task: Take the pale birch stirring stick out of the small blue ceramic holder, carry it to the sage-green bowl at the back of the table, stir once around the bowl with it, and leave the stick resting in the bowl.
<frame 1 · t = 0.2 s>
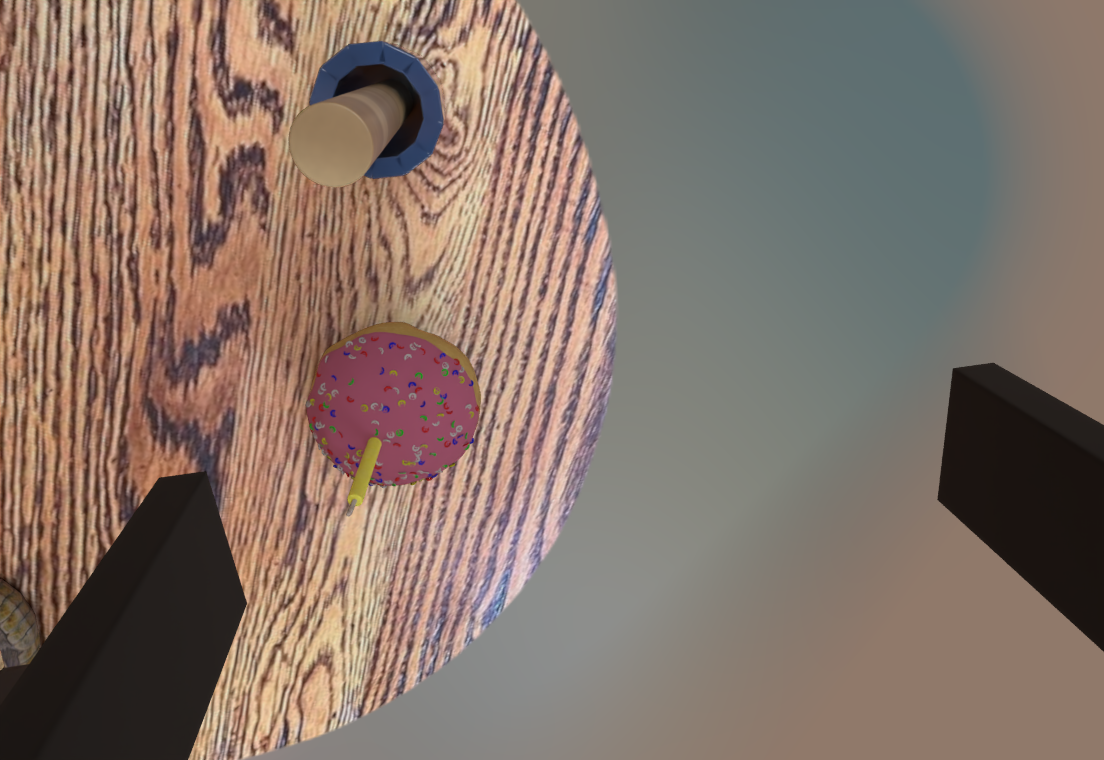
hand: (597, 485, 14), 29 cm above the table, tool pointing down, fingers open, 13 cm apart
cupcake: (400, 371, 43), on the table
stick: (391, 102, 37), resting on holder
holder: (392, 101, 38), on the table
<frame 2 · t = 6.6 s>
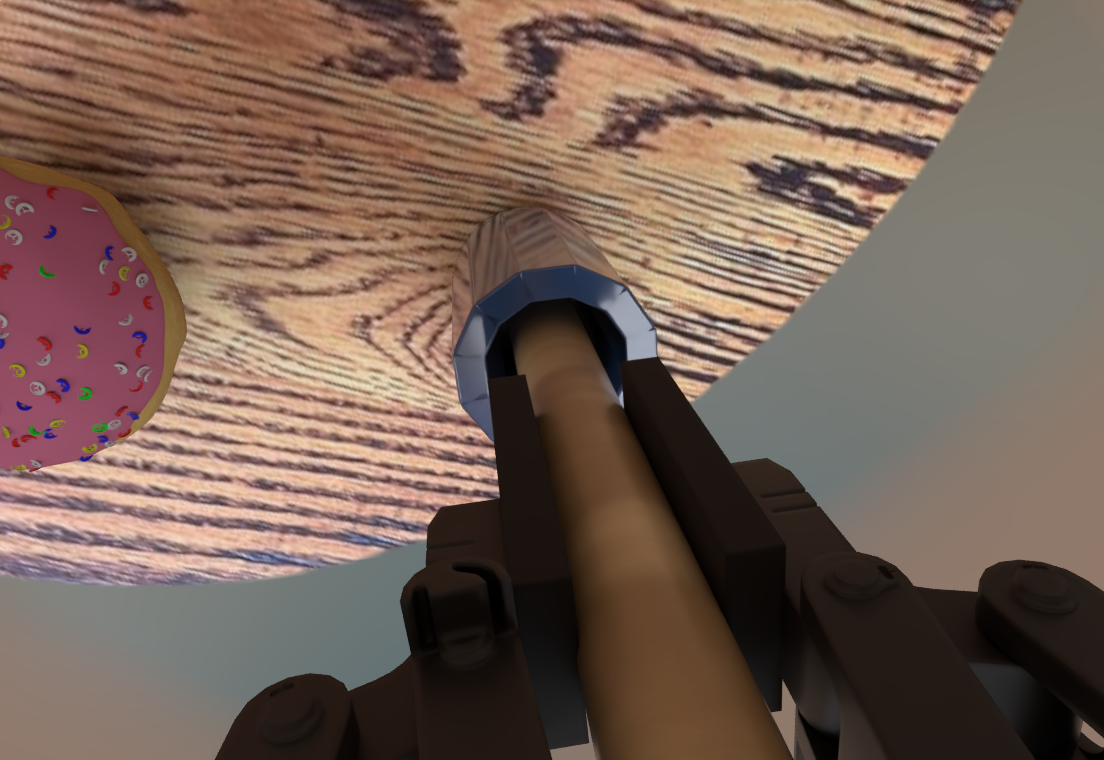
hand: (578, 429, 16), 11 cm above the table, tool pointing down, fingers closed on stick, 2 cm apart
cupcake: (85, 272, 25), on the table
stick: (530, 284, 26), resting on holder, touching gripper
holder: (528, 280, 26), on the table
when the fingers open (12 cm above the table, at t = 17.8 s): stick stays where it is, resting on bowl.
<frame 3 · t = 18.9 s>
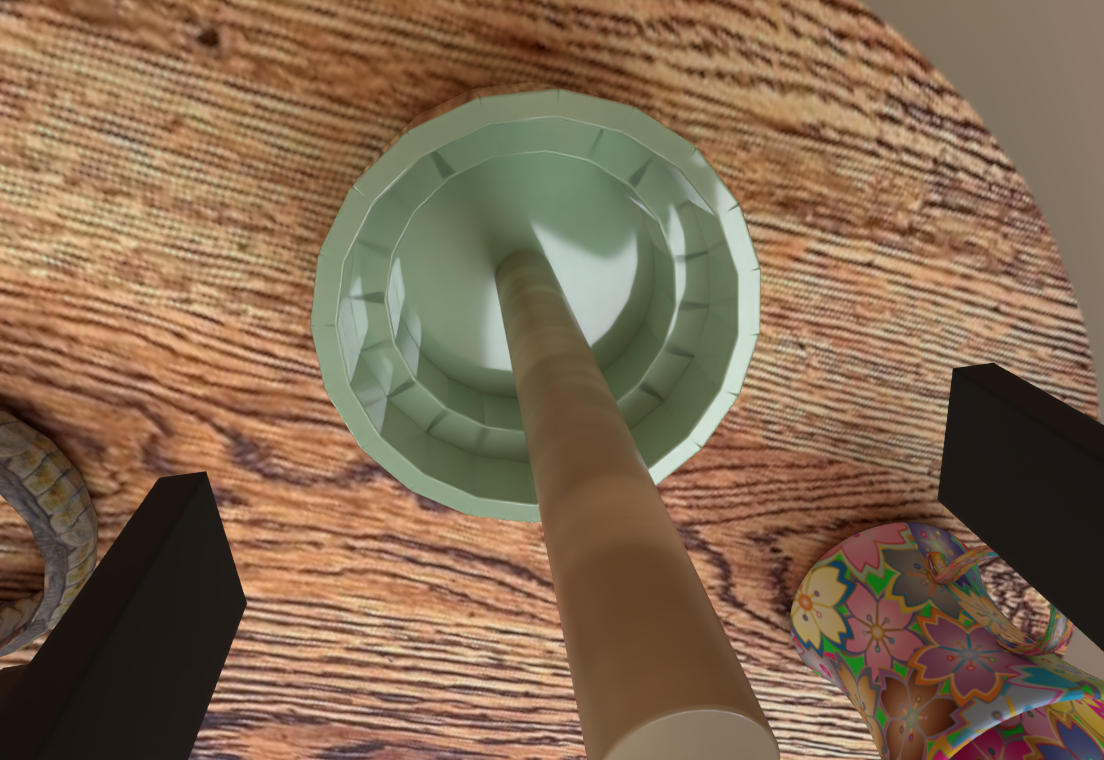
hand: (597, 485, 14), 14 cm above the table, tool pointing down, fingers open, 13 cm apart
bowl: (525, 274, 27), on the table
stick: (524, 277, 26), point 1 cm above the table, touching bowl
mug: (878, 565, 34), on the table
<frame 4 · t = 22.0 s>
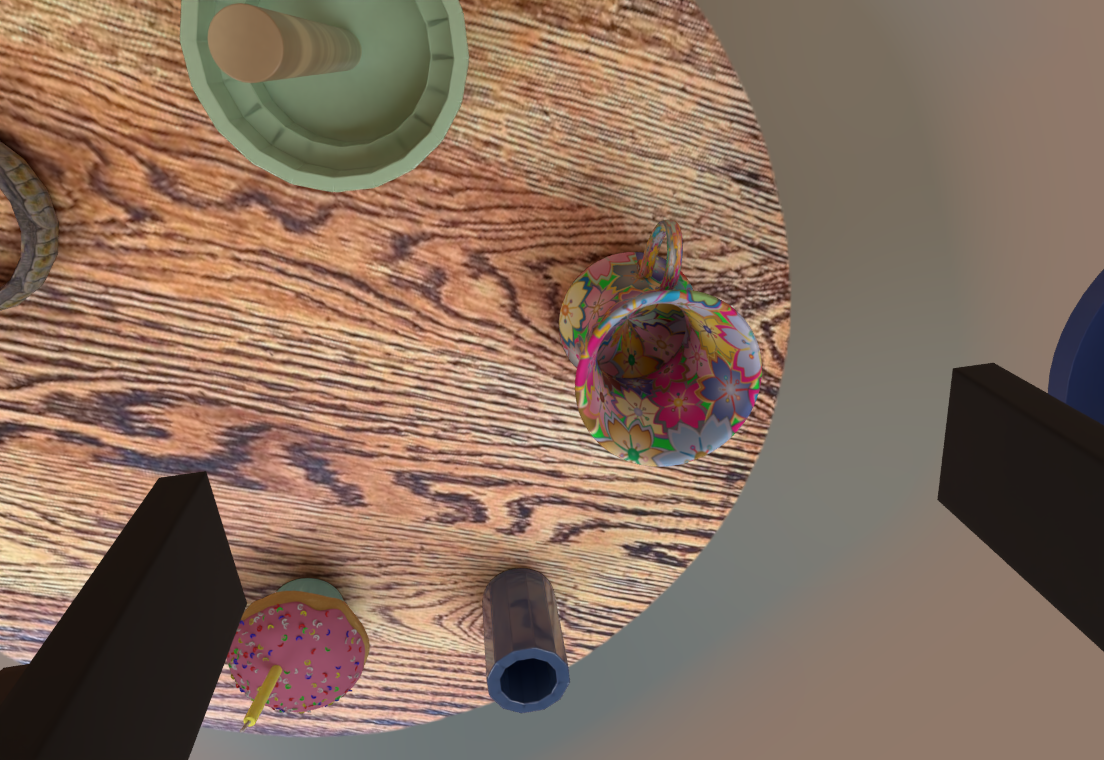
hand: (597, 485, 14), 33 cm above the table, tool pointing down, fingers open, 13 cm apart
cupcake: (311, 603, 53), on the table
bowl: (344, 50, 40), on the table
stick: (341, 49, 40), point 1 cm above the table, touching bowl
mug: (626, 294, 47), on the table
holder: (518, 597, 55), on the table
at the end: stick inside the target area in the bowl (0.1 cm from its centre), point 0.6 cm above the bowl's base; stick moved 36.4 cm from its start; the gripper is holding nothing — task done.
